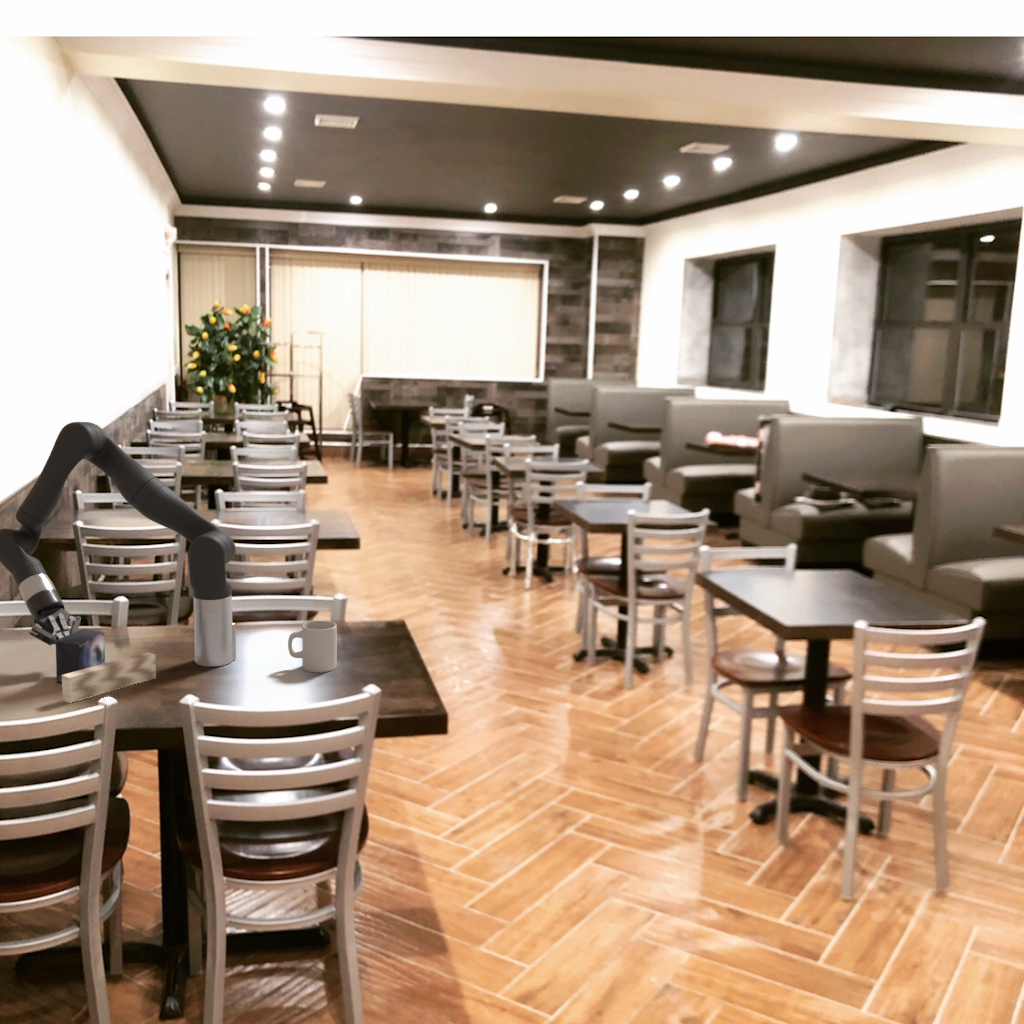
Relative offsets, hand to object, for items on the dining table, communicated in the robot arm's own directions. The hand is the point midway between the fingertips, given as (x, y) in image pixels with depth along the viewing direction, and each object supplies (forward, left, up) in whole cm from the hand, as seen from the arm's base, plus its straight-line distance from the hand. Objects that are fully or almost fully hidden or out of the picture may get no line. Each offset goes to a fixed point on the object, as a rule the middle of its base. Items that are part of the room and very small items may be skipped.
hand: (70, 655), depth 242 cm
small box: (0, +4, -5) cm, 7 cm away
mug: (-41, +40, -5) cm, 57 cm away
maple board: (0, +16, -5) cm, 17 cm away
